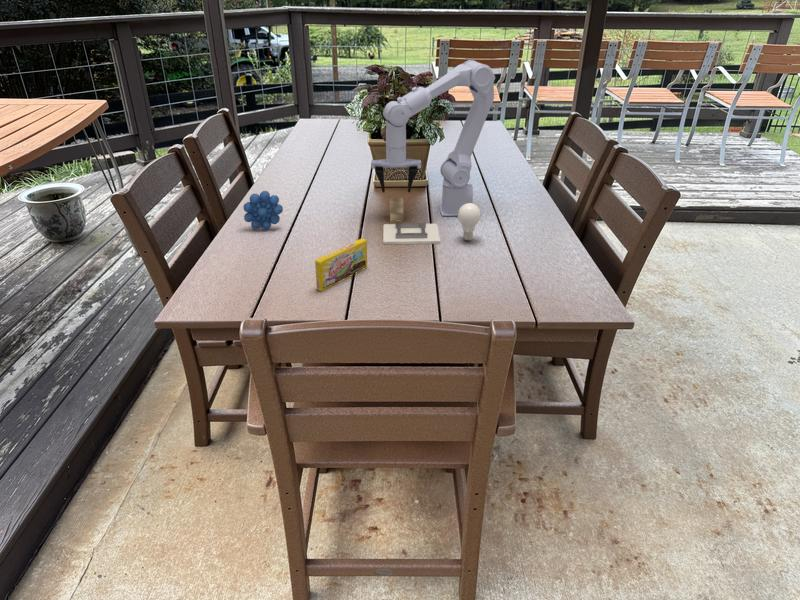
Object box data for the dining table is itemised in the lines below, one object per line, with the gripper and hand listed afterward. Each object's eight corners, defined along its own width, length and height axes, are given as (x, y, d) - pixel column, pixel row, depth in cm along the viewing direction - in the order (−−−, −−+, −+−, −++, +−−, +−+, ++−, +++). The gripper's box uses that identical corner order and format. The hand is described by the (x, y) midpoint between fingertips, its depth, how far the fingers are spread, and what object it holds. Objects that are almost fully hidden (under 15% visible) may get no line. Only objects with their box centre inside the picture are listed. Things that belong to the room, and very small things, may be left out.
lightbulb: (481, 237, 157) (483, 201, 151) (476, 246, 152) (479, 209, 146) (459, 234, 159) (461, 198, 153) (454, 243, 154) (456, 206, 148)
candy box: (322, 292, 131) (319, 262, 127) (316, 289, 132) (313, 259, 128) (368, 268, 142) (367, 239, 137) (362, 265, 143) (361, 237, 138)
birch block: (402, 216, 170) (402, 197, 167) (403, 221, 167) (403, 202, 164) (390, 216, 170) (389, 198, 167) (390, 221, 167) (389, 202, 164)
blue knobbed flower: (287, 223, 166) (283, 185, 159) (284, 232, 160) (279, 193, 154) (249, 223, 166) (243, 185, 159) (244, 233, 160) (237, 194, 153)
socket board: (436, 226, 164) (437, 219, 163) (440, 243, 153) (440, 237, 152) (383, 226, 163) (383, 220, 162) (383, 244, 153) (383, 237, 152)
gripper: (420, 141, 160) (419, 186, 167) (371, 142, 160) (372, 186, 167) (421, 148, 154) (420, 194, 161) (370, 149, 154) (371, 195, 161)
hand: (396, 191), depth 164 cm, fingers open, 7 cm apart
